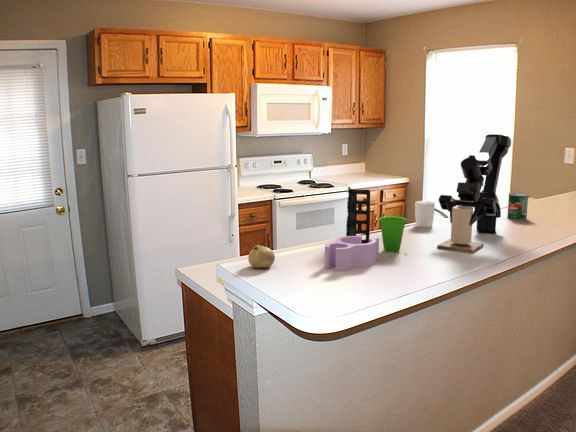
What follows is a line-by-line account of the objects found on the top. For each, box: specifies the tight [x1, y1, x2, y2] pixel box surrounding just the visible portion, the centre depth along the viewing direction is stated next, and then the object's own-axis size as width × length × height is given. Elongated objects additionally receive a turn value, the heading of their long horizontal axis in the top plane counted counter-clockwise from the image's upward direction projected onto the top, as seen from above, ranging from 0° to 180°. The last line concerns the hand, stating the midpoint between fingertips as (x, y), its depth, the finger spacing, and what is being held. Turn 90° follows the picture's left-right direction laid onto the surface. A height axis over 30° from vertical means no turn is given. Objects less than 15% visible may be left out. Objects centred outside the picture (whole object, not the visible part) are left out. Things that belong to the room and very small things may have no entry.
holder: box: [345, 186, 371, 244], centre depth 181 cm, size 11×8×20 cm
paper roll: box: [450, 205, 474, 244], centre depth 176 cm, size 6×6×12 cm
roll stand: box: [436, 238, 485, 254], centre depth 176 cm, size 12×12×6 cm
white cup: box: [414, 200, 436, 228], centre depth 212 cm, size 8×8×10 cm
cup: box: [378, 215, 407, 254], centre depth 172 cm, size 9×9×11 cm
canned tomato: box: [507, 192, 529, 221], centre depth 226 cm, size 8×8×11 cm
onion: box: [247, 244, 276, 269], centre depth 154 cm, size 8×8×7 cm
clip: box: [324, 234, 380, 272], centre depth 158 cm, size 20×12×7 cm, turn 138°
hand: (460, 223), depth 174 cm, fingers closed on paper roll, 6 cm apart
